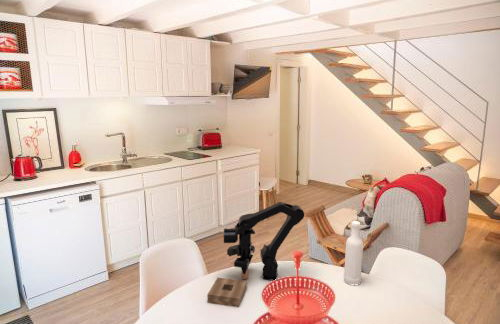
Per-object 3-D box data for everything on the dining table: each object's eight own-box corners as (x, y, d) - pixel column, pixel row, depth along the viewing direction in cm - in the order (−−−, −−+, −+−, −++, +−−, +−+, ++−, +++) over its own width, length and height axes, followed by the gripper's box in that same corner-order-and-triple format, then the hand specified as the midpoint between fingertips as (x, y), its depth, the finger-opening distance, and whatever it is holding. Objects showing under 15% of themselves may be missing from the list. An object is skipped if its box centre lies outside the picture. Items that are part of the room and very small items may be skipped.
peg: (248, 276, 163) (248, 257, 161) (247, 279, 160) (247, 260, 158) (242, 275, 164) (242, 257, 162) (241, 278, 161) (241, 259, 159)
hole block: (246, 288, 153) (246, 281, 152) (239, 307, 139) (239, 298, 139) (217, 285, 156) (217, 277, 155) (207, 302, 142) (207, 294, 142)
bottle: (341, 282, 159) (345, 223, 153) (346, 275, 165) (349, 218, 160) (358, 287, 154) (362, 226, 149) (362, 279, 161) (366, 221, 155)
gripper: (233, 232, 169) (234, 261, 172) (223, 248, 151) (223, 280, 154) (255, 234, 167) (255, 263, 170) (246, 251, 149) (246, 282, 152)
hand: (244, 272), depth 161 cm, fingers closed on peg, 3 cm apart
